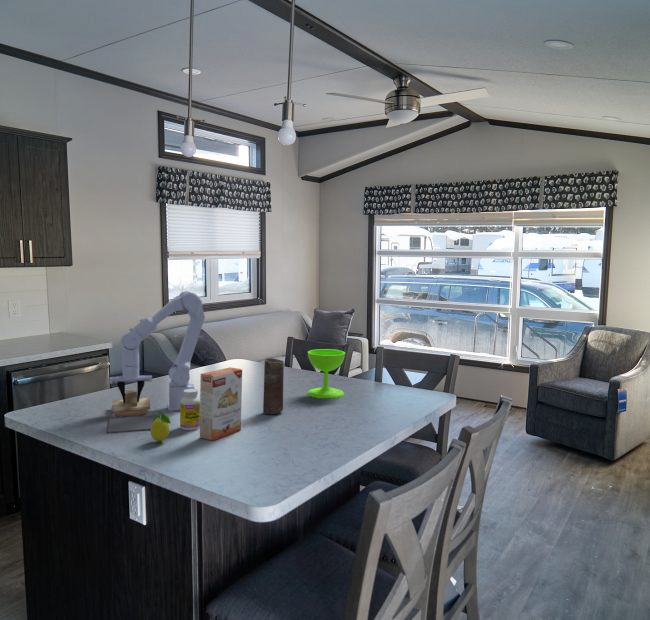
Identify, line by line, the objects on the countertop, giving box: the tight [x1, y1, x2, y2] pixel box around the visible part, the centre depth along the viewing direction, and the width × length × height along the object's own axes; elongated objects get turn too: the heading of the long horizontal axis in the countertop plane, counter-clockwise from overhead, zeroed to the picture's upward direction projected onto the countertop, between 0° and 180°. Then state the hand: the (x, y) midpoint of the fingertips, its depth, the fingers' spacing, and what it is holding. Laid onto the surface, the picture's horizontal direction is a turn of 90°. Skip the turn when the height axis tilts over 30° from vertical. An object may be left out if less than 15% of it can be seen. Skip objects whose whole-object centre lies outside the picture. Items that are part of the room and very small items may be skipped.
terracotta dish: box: [113, 409, 150, 417], centre depth 201 cm, size 12×12×3 cm
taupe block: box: [110, 389, 151, 412], centre depth 200 cm, size 13×13×5 cm
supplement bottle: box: [179, 388, 200, 431], centre depth 184 cm, size 7×7×13 cm
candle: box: [262, 357, 285, 415], centre depth 203 cm, size 8×7×20 cm
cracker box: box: [199, 366, 243, 441], centre depth 178 cm, size 14×6×21 cm, turn 148°
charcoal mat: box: [107, 414, 159, 434], centre depth 187 cm, size 16×16×1 cm
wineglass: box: [306, 348, 346, 399], centre depth 233 cm, size 16×16×18 cm
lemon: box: [150, 410, 171, 443], centre depth 169 cm, size 7×6×10 cm
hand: (131, 401), depth 200 cm, fingers closed on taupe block, 4 cm apart
